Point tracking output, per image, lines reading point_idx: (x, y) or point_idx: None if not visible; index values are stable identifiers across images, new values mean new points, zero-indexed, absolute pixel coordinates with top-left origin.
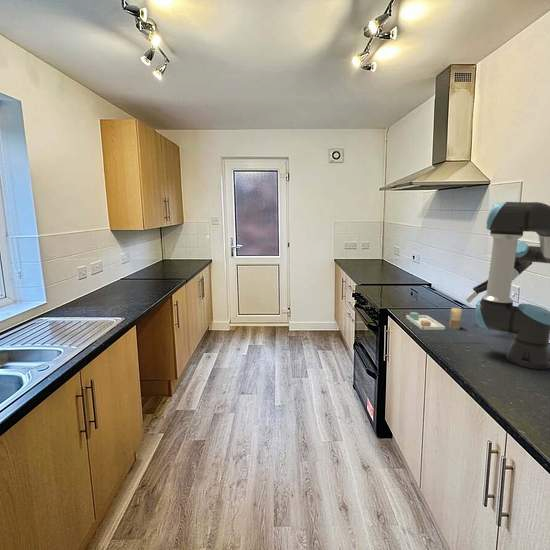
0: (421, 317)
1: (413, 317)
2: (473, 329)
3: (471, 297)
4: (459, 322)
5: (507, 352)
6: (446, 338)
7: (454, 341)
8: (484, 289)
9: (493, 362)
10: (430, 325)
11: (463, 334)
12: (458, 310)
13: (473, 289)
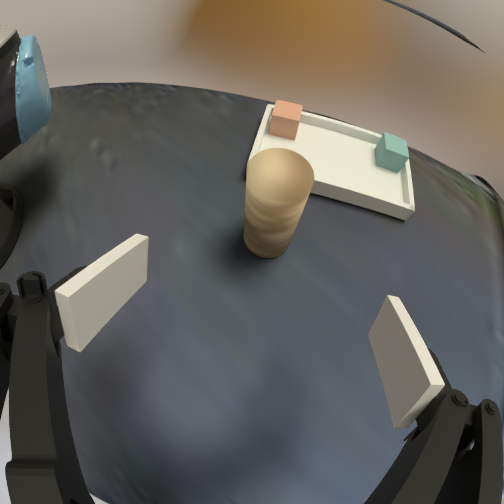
0: (404, 193)
1: (379, 144)
2: (246, 333)
3: (390, 348)
4: (244, 219)
5: (13, 191)
6: (186, 143)
7: (154, 149)
8: (376, 498)
9: (34, 155)
10: (270, 124)
11: (198, 227)
12: (248, 163)
13: (480, 404)
